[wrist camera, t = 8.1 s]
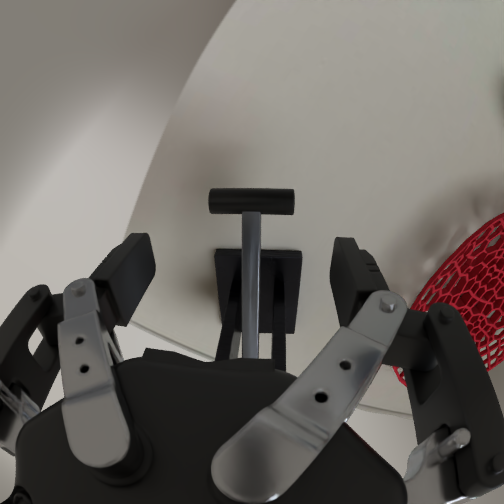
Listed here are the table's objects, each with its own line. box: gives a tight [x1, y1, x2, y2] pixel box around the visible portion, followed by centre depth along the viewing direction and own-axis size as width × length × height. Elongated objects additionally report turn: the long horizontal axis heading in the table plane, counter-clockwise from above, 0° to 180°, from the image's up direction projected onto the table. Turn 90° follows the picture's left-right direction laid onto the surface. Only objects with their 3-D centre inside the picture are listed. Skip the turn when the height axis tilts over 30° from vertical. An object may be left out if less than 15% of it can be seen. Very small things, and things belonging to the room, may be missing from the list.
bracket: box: [214, 249, 302, 372], centre depth 23 cm, size 10×8×13 cm
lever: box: [208, 188, 295, 359], centre depth 18 cm, size 15×5×2 cm, turn 1°
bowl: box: [393, 213, 504, 387], centre depth 25 cm, size 29×30×5 cm
